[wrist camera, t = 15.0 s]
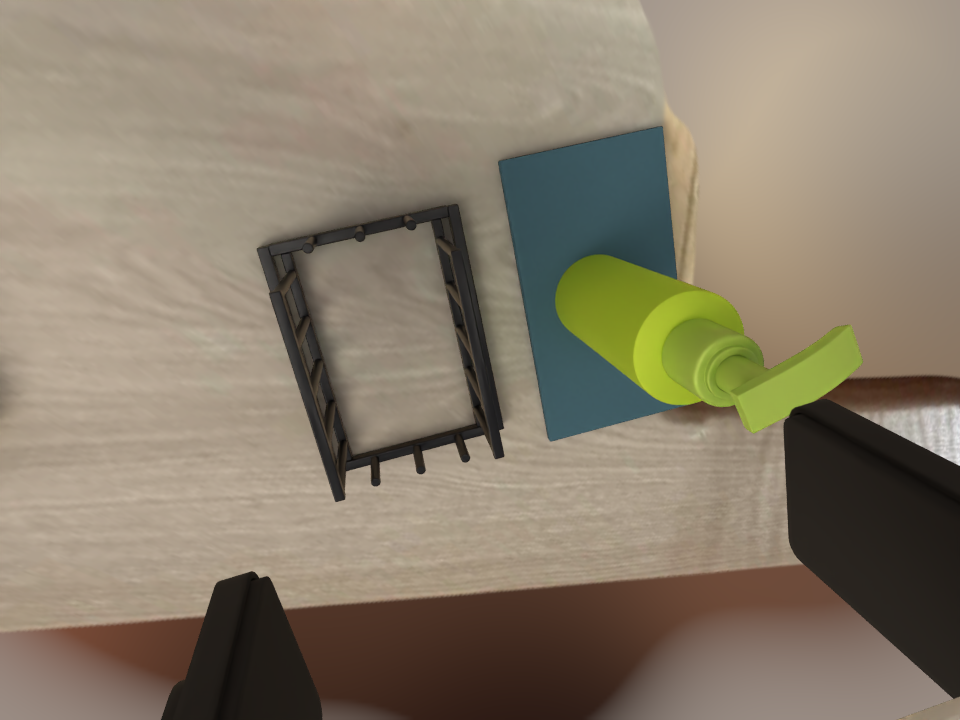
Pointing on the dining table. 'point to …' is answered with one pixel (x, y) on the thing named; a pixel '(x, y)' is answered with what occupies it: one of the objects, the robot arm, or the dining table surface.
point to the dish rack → (468, 341)
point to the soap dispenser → (692, 342)
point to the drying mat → (572, 236)
